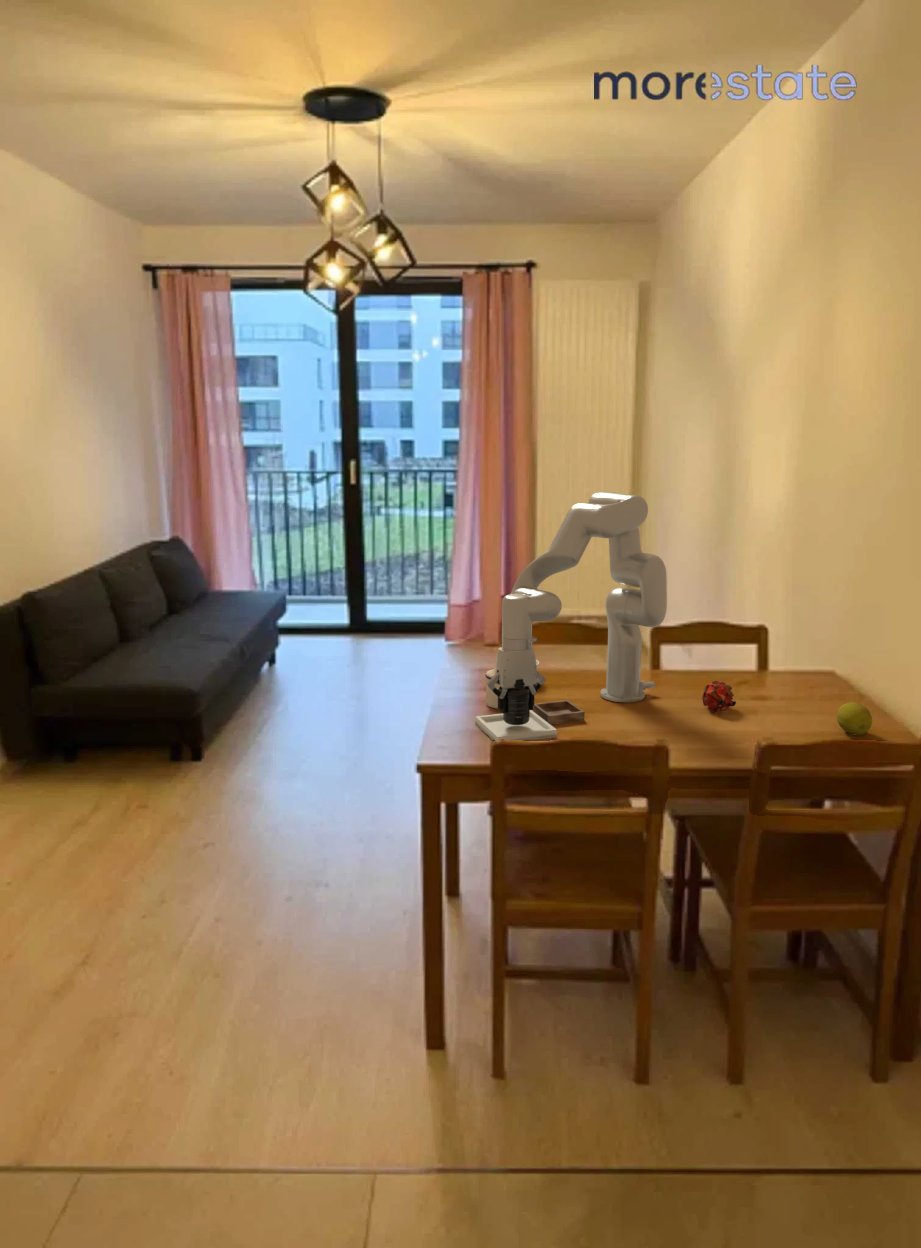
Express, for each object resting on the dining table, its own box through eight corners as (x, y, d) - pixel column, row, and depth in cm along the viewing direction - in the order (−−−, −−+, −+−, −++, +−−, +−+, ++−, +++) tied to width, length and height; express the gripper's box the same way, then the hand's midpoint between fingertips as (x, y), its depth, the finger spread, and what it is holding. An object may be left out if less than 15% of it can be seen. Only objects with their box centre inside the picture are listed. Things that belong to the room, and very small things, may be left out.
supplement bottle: (501, 717, 238) (501, 673, 235) (527, 716, 238) (528, 672, 236) (504, 726, 231) (504, 680, 229) (531, 725, 232) (531, 680, 229)
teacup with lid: (517, 710, 251) (517, 669, 248) (484, 709, 252) (484, 668, 249) (518, 696, 263) (519, 657, 260) (486, 695, 263) (487, 656, 261)
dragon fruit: (715, 707, 258) (722, 727, 247) (692, 690, 257) (697, 710, 246) (736, 685, 255) (743, 705, 244) (712, 668, 254) (719, 687, 243)
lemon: (875, 741, 228) (879, 710, 226) (843, 740, 229) (846, 709, 227) (861, 726, 239) (864, 697, 237) (830, 725, 239) (833, 696, 237)
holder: (567, 708, 252) (567, 700, 252) (584, 720, 243) (584, 711, 242) (532, 712, 249) (532, 704, 248) (548, 725, 239) (548, 716, 239)
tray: (531, 717, 245) (531, 710, 245) (556, 737, 231) (556, 729, 230) (475, 723, 240) (475, 716, 240) (497, 744, 226) (497, 737, 225)
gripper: (542, 636, 236) (541, 702, 241) (479, 642, 231) (479, 709, 235) (554, 643, 229) (553, 711, 234) (489, 650, 224) (489, 718, 228)
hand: (516, 709), depth 234 cm, fingers closed on supplement bottle, 6 cm apart
